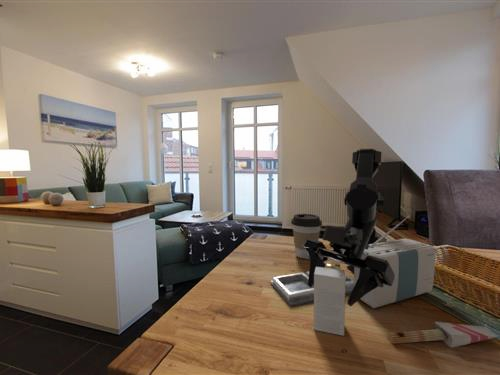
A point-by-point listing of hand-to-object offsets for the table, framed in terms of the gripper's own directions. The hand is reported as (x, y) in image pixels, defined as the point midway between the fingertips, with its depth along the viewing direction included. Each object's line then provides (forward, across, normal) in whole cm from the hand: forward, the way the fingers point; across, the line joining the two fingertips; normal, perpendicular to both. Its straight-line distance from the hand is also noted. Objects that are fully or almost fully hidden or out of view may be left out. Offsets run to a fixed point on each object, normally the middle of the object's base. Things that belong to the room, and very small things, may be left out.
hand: (327, 294), depth 49 cm
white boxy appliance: (-12, +3, +22) cm, 26 cm away
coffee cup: (-15, -28, +26) cm, 41 cm away
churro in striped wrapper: (-5, +16, +15) cm, 23 cm away
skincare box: (+5, 0, +6) cm, 8 cm away
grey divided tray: (-3, -12, +14) cm, 18 cm away
